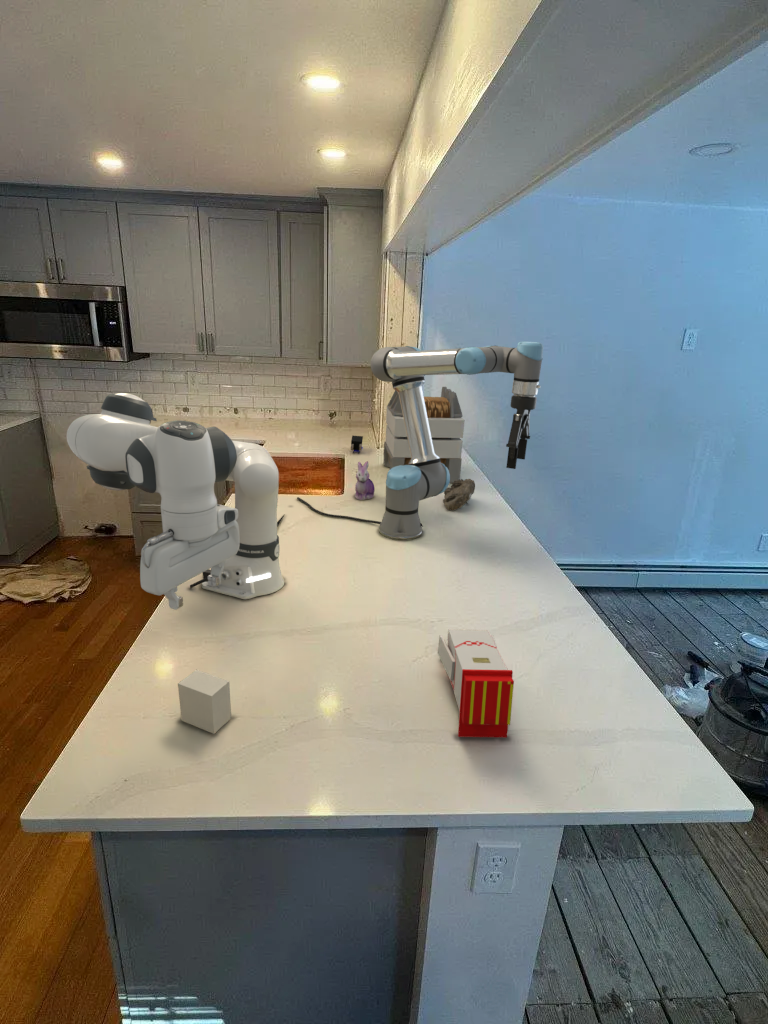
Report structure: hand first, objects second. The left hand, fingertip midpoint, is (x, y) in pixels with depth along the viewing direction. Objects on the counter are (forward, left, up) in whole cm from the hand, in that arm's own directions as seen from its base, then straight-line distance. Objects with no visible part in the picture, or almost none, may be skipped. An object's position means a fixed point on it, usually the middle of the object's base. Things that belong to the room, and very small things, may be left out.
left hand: (196, 595), depth 98 cm
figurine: (-2, +140, -26) cm, 142 cm away
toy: (+48, +21, -26) cm, 59 cm away
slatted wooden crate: (+15, +184, -26) cm, 186 cm away
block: (0, 0, -26) cm, 26 cm away
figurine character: (-24, +215, -26) cm, 218 cm away
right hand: (+56, +98, +4) cm, 113 cm away
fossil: (+37, +144, -26) cm, 151 cm away
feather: (-25, +105, -26) cm, 111 cm away
